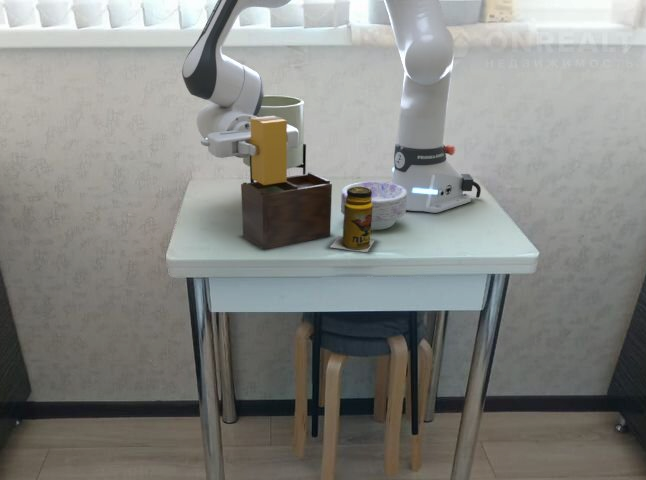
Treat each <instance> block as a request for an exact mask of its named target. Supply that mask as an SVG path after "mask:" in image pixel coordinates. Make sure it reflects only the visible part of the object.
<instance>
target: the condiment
mask: <svg viewBox="0 0 646 480" xmlns="http://www.w3.org/2000/svg"><path fill="white" fill-rule="evenodd" d="M371 196H372V191H371V190H370V189H368V188H365V187H352V188H349V189H348V190H347V197H346V202H345V207H344V214H343V227H342V228H343V230H342V235H337V237H336V239H335V240H334V241H333V243H332V244H331V245H330V246H329V248H331V249H333V248H334V249H340V250H347V251H354V252H362V253H363V252H364V253H368V252H369V251H370V249H371V248H372V247H373V245H374V243H375V240H374V239H371V235H372V234H371V233H372V230H371V222H372V210H373V204H372V202H371V200H372V198H371Z"/></svg>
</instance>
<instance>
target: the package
mask: <svg viewBox="0 0 646 480" xmlns="http://www.w3.org/2000/svg"><path fill="white" fill-rule="evenodd" d="M251 144H256V145H258V146H259V155H251V160H252V179H253V180H254V182H259V183H261V184H263V185H269V184H275V183H282V182H287V177H288V175H287V174H288V169H287V120H284V119H283V118H280V117H276V116H266V117H257V118H251Z"/></svg>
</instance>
